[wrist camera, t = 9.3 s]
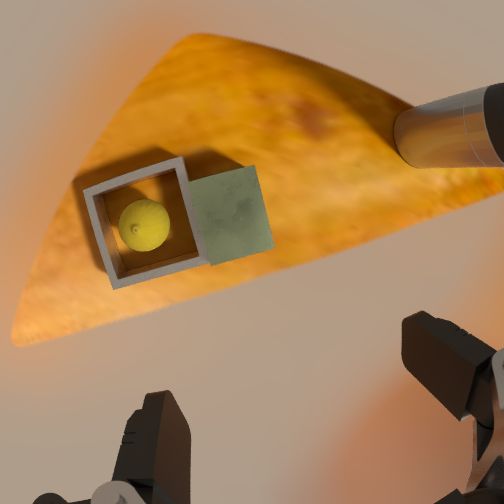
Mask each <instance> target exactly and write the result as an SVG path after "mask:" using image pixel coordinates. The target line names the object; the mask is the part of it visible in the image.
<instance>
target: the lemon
mask: <svg viewBox="0 0 504 504" xmlns="http://www.w3.org/2000/svg"><path fill="white" fill-rule="evenodd" d="M118 229H119V234H120V236H121V239H122V240H123V242H124V243H125V244H126V245H127V246H128V247H130V248H131V249H134V250H136V251H142V252H143V251H150V250H153V249H155V248H157V247H158V246H160V245H161V244H162V243H163V242H164V241H165V239H166V238H167V236H168V233H169V229H170V219H169V216H168V213H167V211H166V210H165V208H164V207H163V206H162V205H161V204H159V203H158V202H156V201H153V200H150V199H141V200H137V201H135V202H133V203H131V204H129V205H128V206H127V207H126V208H125V209H124V211H123V213H122V214H121V216H120V219H119V227H118Z"/></svg>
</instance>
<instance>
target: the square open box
mask: <svg viewBox="0 0 504 504" xmlns="http://www.w3.org/2000/svg"><path fill="white" fill-rule="evenodd" d="M173 171H176V173H177V177H178V181H179V185H180V189H181V192H182V196H183V200H184V203H185V207H186V211H187V214H188V218H189V222H190V225H191V229H192V232H193V236H194V239H195V243H196V246H197V249H198V251H196V252H192V253H189V254H185V255H182V256H178V257H175V258H171V259H168V260H164V261H161V262H157V263H154V264H150V265H147V266H144V267H140V268H137V269H133V270H130V271H125V268H124V266H123V263H122V260H121V256H120V253H119V250H118V247H117V244H116V241H115V237H114V234H113V231H112V227H111V224H110V220H109V217H108V213H107V210H106V206H105V202H104V198H103V195H104V194H107V193H109V192H112V191H115V190H118V189H121V188H123V187H126V186H129V185H132V184H135V183H138V182H141V181H144V180H147V179H150V178H153V177H157V176H160V175H163V174H166V173H170V172H173ZM83 193H84V197H85V201H86V205H87V209H88V212H89V216H90V220H91V223H92V227H93V230H94V234H95V237H96V240H97V244H98V247H99V250H100V253H101V256H102V259H103V262H104V265H105V268H106V271H107V274H108V276H109V279H110V282H111V285H112V287H113V290H115V289H118V288H122V287H125V286H129V285H133V284H136V283H140V282H143V281H147V280H150V279H154V278H158V277H161V276H165V275H168V274H172V273H175V272H179V271H183V270H186V269H190V268H193V267H197V266H200V265H204V264H208V263H210V264H211V266H213V265H216V264H220V263H223V262H227V261H231V260H234V259H238V258H241V257H245V256H248V255H252V254H256V253H259V252H263V251H266V250H270V249H273V248H275V246H274V242H273V238H272V234H271V229H270V225H269V221H268V217H267V213H266V209H265V205H264V201H263V197H262V193H261V189H260V185H259V181H258V177H257V173H256V169H255V165H251V166H247V167H243V168H239V169H235V170H231V171H227V172H223V173H219V174H215V175H212V176H208V177H204V178H201V179H197V180H193V181H190V179H189V175H188V171H187V167H186V163H185V159H184V158H183V157H182V156H180V157H177V158H173V159H170V160H167V161H163V162H160V163H157V164H154V165H151V166H148V167H145V168H142V169H139V170H136V171H133V172H130V173H127V174H124V175H121V176H118V177H116V178H113V179H110V180H108V181H105V182H102V183H100V184H97V185H94V186H92V187H89V188H87V189H84V190H83Z"/></svg>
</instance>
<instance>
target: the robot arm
mask: <svg viewBox="0 0 504 504" xmlns="http://www.w3.org/2000/svg"><path fill="white" fill-rule="evenodd" d="M394 139H395V143H396V147H397V149H398V151H399V153H400V155H401V156H402V158H403V159H404V160H405V161H406V162H407V163H408V164H409V165H411V166H412V167H415V168H420V169H425V168H462V167H504V83H498V84H494V85H490V86H486V87H482V88H478V89H474V90H471V91H467V92H464V93H460V94H456V95H453V96H449V97H446V98H443V99H440V100H436V101H433V102H430V103H426V104H423V105H420V106H417V107H414V108H411V109H408V110H405V111H403V112H401V113H400V114H399V115H398V117H397V118H396V121H395V124H394ZM401 355H402V360H403V363H404V366H405V367H406V369H407V370H408V371H409V372H410V373H411V374H412V375H413V376H414V377H415V378H416V379H417V380H418V381H419V382H420V383H421V384H422V385H423V386H424V387H425V388H426V389H428V390H429V392H430V393H432V394H433V395H434V396H435V397H436V398H437V399H438V400H439V401H440V402H441V403H442V404H443V405H444V406H445V407H446V408H447V409H448V410H449V411H450V412H451V413H452V414H453V415H454V416H455V417H456V418H457V419H458V420H459V421H460V422H461V421H462V420H463V419H465V418H466V417H468V416H469V415H470V414H472V415H473V416H474V420H473V453H472V454H473V455H472V469H471V474H470V477H469V479H468V483H467V486H466V491H465V493H464V494H461V493H460V492H459V491H458V489H455V490H454V491H453V492H451V493H450V494H448V495H447V496H445V497H444V498H442V499H441V500H439V501H437V502H436V503H434V504H504V348H503V349H501V350H499V351H496V350H495V349H493V348H492V347H490V346H489V345H487V344H486V343H484V342H483V341H481V340H479V339H478V338H476V337H474V336H473V335H472V334H468V332H467V331H465V330H464V329H460V327H458V326H457V325H456V324H454V323H452V322H451V321H448V320H444V319H440V318H435V317H433V316H431V315H430V314H428V313H426V312H425V311H420V312H417V313H415V314H413V315H411V316H408V317H406V318H404V319H403V321H402V352H401ZM124 434H125V435H123V438H122V445H120V449H119V453H118V457H117V461H116V465H115V469H114V473H113V477H112V480H111V481H110V482H107V483H105V484H103V485H101V486H100V487H98V488H97V489H96V491H95V492H94V493H93V495H92V498H91V499H88V500H83V501H77V502H72V503H68V502H66V500H64V499H63V498H62V497H61V496H59V495H57V494H54V493H46V494H43V495H41V496H39V497H38V498H37V499H36V500H35V501H34V502H33V504H190V467H191V466H190V465H191V462H190V461H191V433H190V428H189V425H188V423H187V421H186V419H185V417H184V415H183V413H182V412H181V410H180V408H179V406H178V404H177V402H176V400H175V398H174V397H173V395H172V393H171V392H170V391H169V390H165V391H159V392H153V393H147V394H146V396H145V399H144V403H143V407H142V409H140V410H136V411H135V412H134V413H133V414H132V416H131V417H130V418H129V419H128V421H127V424H126V427H125V431H124Z"/></svg>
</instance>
